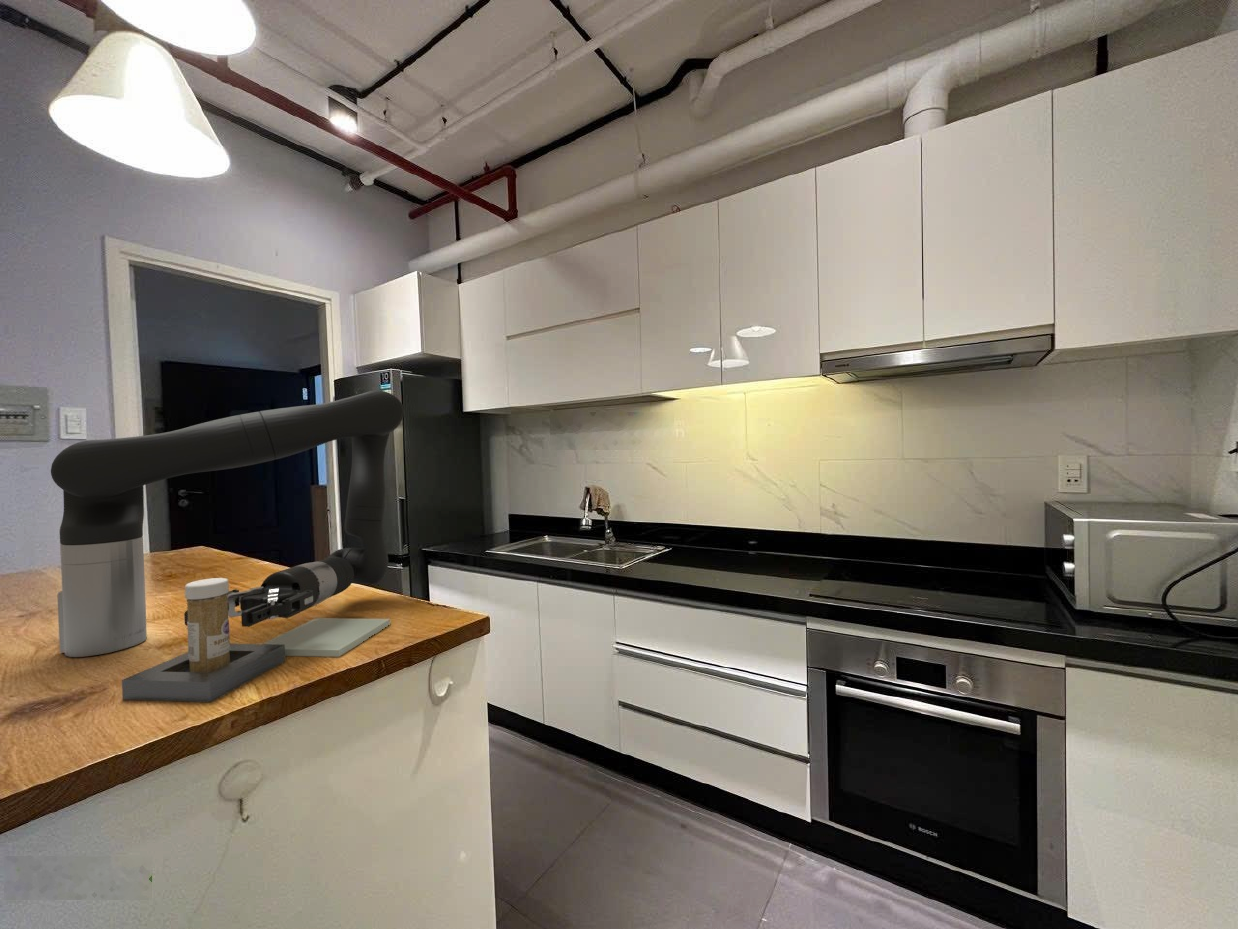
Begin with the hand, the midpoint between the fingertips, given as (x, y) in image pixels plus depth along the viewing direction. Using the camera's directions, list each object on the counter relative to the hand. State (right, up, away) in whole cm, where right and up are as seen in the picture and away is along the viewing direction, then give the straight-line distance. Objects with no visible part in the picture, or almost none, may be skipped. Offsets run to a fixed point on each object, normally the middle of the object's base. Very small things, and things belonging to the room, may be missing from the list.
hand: (215, 619), depth 68 cm
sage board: (+7, -7, +14) cm, 17 cm away
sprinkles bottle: (0, -8, -1) cm, 8 cm away
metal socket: (0, -8, -1) cm, 8 cm away
